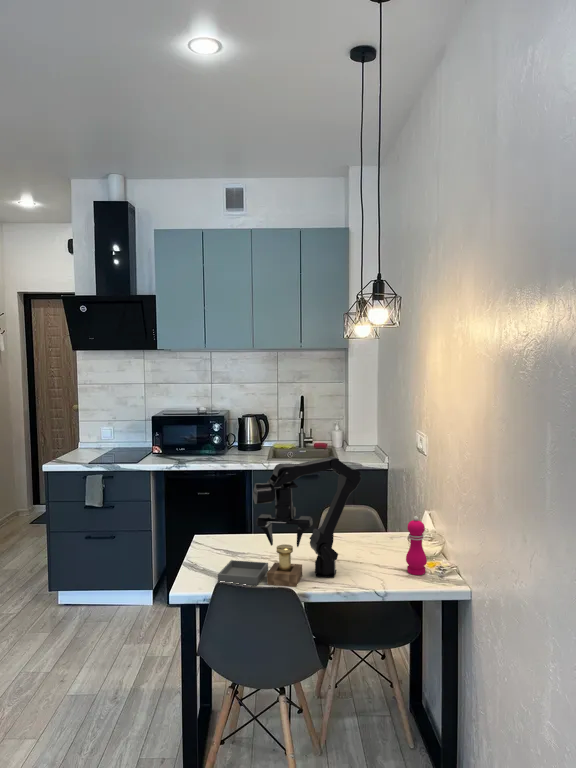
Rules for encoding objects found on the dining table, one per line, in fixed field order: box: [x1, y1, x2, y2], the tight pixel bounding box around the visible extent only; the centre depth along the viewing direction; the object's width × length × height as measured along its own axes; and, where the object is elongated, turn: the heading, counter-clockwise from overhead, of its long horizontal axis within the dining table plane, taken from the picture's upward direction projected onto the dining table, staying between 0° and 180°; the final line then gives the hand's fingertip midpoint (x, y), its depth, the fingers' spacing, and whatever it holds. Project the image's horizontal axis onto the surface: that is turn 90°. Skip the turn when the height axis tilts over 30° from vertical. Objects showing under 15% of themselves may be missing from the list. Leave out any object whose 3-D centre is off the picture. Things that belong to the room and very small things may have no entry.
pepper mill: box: [405, 515, 428, 576], centre depth 195 cm, size 7×7×20 cm
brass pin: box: [276, 543, 294, 572], centre depth 190 cm, size 6×6×12 cm
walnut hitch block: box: [266, 562, 303, 588], centre depth 190 cm, size 10×10×4 cm
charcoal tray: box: [217, 559, 269, 587], centre depth 194 cm, size 14×14×3 cm
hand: (284, 546), depth 190 cm, fingers open, 9 cm apart
